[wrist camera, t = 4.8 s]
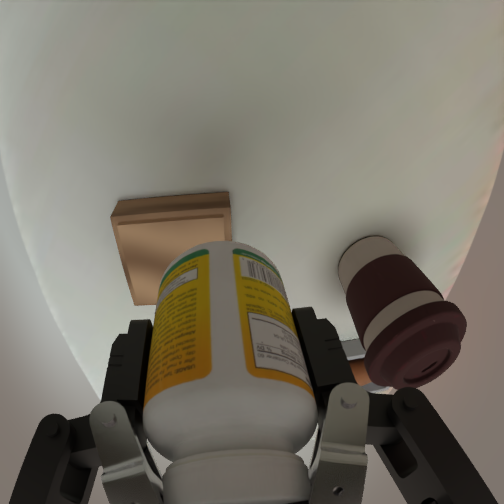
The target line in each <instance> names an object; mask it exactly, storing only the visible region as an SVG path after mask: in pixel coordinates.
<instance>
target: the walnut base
mask: <svg viewBox="0 0 504 504" xmlns="http://www.w3.org/2000/svg"><path fill="white" fill-rule="evenodd" d="M110 218H111V222H112V227H113V231H114V235H115V239H116V243H117V246H118V250H119V254H120V258H121V261H122V265H123V269H124V272H125V276H126V279H127V282H128V286H129V289H130V292H131V296H132V299H133V302H134V305H135V306H138V305H157V298H158V292H159V287H160V282H161V279H162V276H163V274H164V272H165V270H166V269H167V267H168V266H169V265H170V264H171V262H172V261H173V260H175V259H176V258H177V257H178V256H179V255H181V254H182V253H184V252H185V251H187V250H188V249H190V248H193V247H194V246H196V245H199V244H203V243H207V242H213V241H232V234H231V207H230V200H229V192H219V193H204V194H190V195H177V196H165V197H154V198H143V199H133V200H123V201H118V203H117V205H116V207H115V209H114V211H113V213H112V215H111V217H110Z"/></svg>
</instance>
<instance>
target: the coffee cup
mask: <svg viewBox="0 0 504 504" xmlns="http://www.w3.org/2000/svg"><path fill="white" fill-rule="evenodd" d="M338 273H339V278H340V281H341V283H342V286H343V289H344V291H345V294H346V302H347V305H348V308H349V311H350V313H351V316H352V319H353V322H354V325H355V328H356V330H357V333H358V336H359V339H360V342H361V345H362V347H363V348H364V350H365V351H366V354H365V357H364V366H365V369H366V371H367V374H368V376H369V379H370V380H371V381H372V382H373V383H374V384H376V385H378V386H383V387H393V388H395V389H397V390H399V389H401V388H404V387H413V388H418V387H420V386H422V385H425V384H427V383H429V382H431V381H432V380H434V379H436V378H437V377H438V376H440V375H441V374H442V373H443V372H445V371H446V370H447V369H448V368H449V367H450V366H451V365H452V363H454V361H455V360H456V358H457V357H458V355H459V353H460V349H461V341H462V339H463V337H464V335H465V332H466V326H467V322H466V319H465V317H464V315H463V314H462V312H461V311H460V310H459V308H458V307H457V306H456V305H455V304H454V303H451V302H448V301H444V299H443V296H442V294H441V293H440V292H439V290H438V289H437V288H436V287H435V286H434V285H433V284H432V282H431V281H430V280H429V279H428V278H427V277H426V276H425V275H424V273H423V272H422V271H421V270H420V269H419V268H418V267H417V266H416V265H415V264H414V262H413V261H412V260H411V259H409V258H408V257H406V256H404V255H403V254H402V252H401V251H400V250H399V249H398V248H397V247H396V246H395V245H394V244H393V243H392V242H391V241H390V240H388V239H386V238H383V237H378V236H374V237H368V238H364V239H362V240H360V241H358V242H356V243H355V244H353V245H352V246H351V247H350V248H349V249H348V250H347V251H346V252H345V253H344V255H343V257H342V258H341V261H340V264H339V269H338Z"/></svg>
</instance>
